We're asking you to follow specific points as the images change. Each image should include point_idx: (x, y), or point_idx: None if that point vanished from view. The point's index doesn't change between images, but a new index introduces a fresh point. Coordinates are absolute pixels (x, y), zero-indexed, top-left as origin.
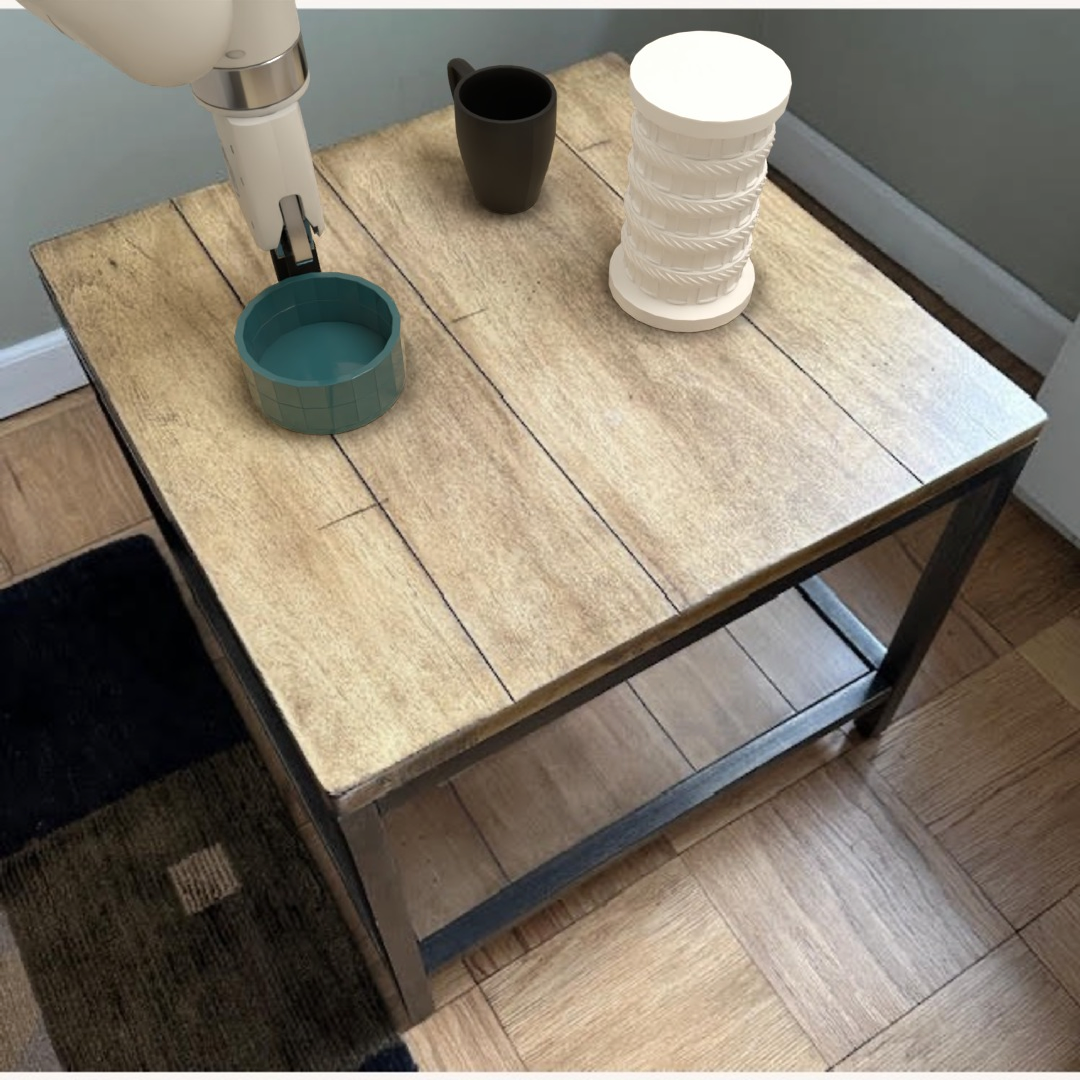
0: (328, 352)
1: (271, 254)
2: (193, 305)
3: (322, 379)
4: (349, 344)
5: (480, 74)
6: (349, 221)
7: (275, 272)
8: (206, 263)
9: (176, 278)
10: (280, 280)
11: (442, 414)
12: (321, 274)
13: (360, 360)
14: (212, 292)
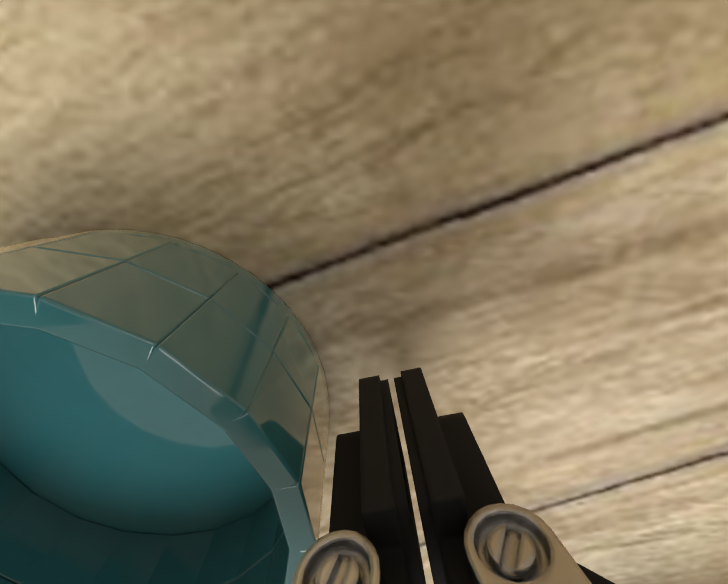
0: (206, 419)
1: (423, 460)
2: (472, 75)
3: (112, 404)
4: (229, 459)
5: None
6: (641, 465)
7: (423, 386)
8: (643, 125)
9: (614, 19)
10: (359, 412)
11: None
12: None
13: (175, 476)
14: (511, 139)
